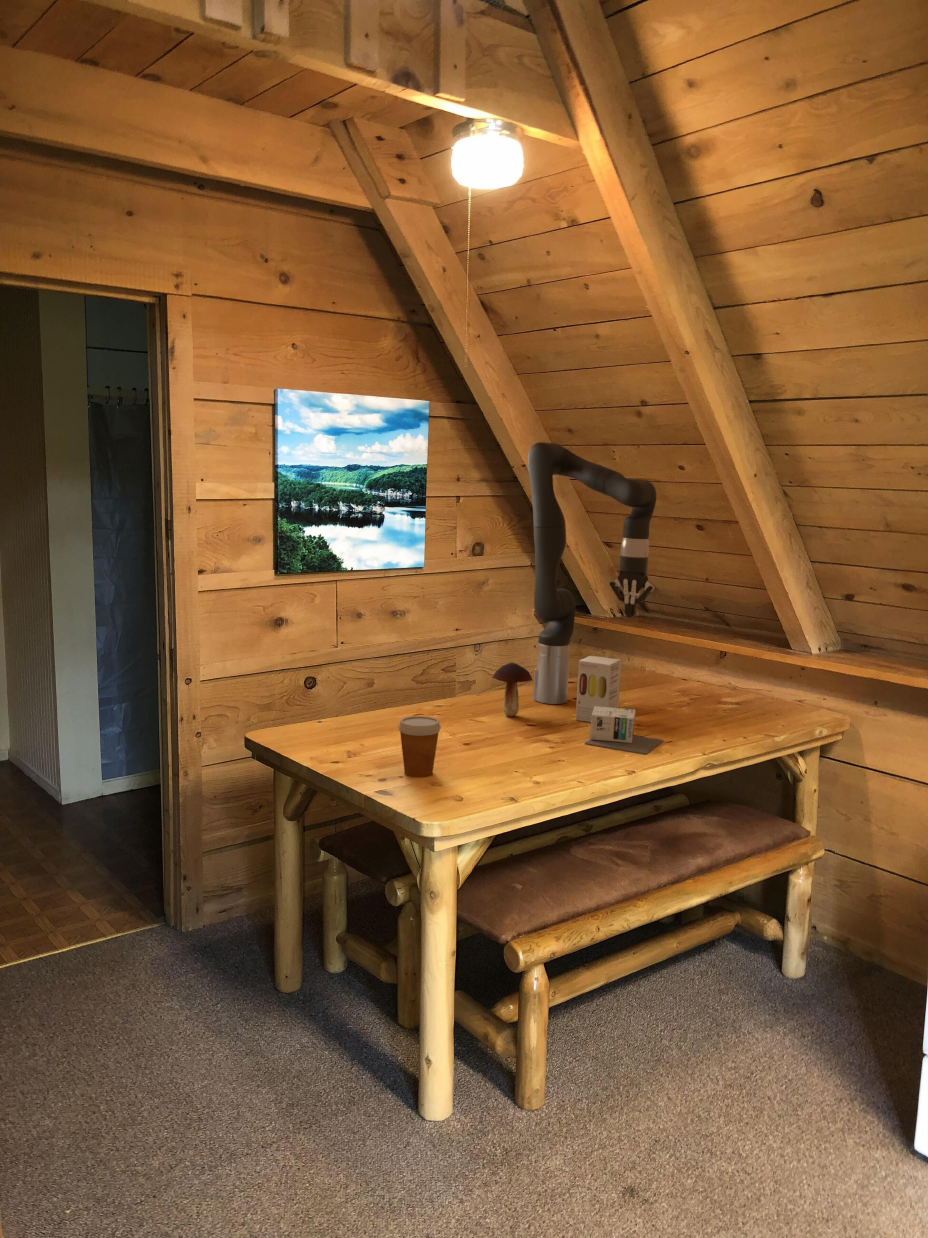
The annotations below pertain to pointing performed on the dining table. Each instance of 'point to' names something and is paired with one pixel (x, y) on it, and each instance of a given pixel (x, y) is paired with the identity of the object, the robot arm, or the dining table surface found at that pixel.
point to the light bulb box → (612, 724)
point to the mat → (629, 744)
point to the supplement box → (597, 685)
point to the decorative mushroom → (511, 685)
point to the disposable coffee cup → (419, 744)
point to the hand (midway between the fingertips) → (629, 617)
